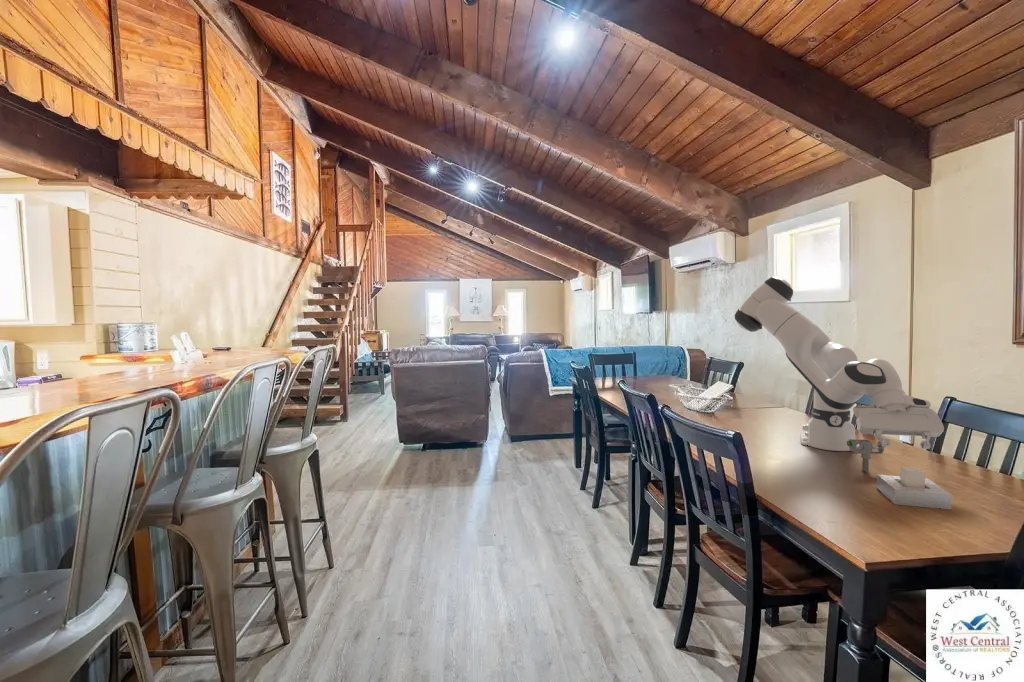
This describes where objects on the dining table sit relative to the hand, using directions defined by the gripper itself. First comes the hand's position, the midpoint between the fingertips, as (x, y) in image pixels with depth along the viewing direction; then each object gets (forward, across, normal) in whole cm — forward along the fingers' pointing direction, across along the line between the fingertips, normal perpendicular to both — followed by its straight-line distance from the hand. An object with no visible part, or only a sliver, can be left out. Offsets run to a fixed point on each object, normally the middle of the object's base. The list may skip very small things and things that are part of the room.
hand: (906, 446), depth 136 cm
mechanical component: (-1, -5, +18) cm, 19 cm away
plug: (+14, -2, +4) cm, 14 cm away
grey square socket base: (+14, -2, +4) cm, 14 cm away
